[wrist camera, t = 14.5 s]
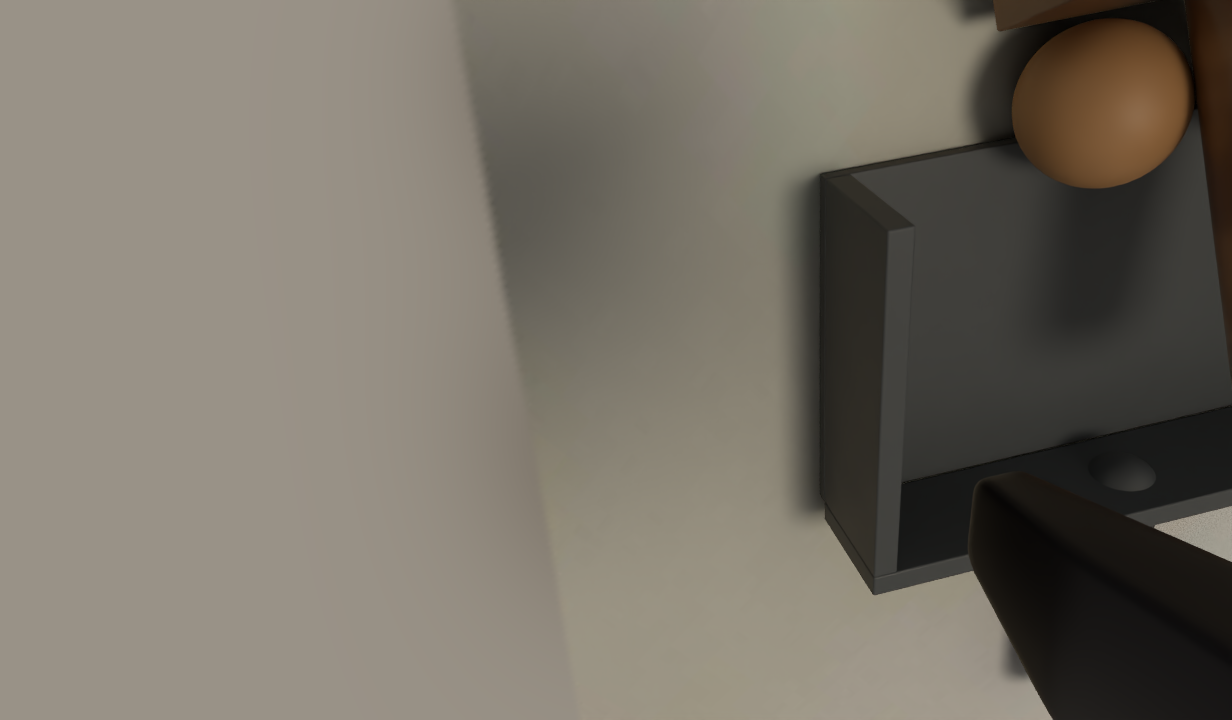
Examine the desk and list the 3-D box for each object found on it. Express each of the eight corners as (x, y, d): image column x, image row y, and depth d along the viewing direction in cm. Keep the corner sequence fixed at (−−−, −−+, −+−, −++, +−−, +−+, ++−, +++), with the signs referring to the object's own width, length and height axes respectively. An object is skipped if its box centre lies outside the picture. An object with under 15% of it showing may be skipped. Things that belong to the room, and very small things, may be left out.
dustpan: (819, 174, 22) (887, 231, 19) (1418, 61, 24) (1559, 98, 21) (819, 732, 32) (863, 824, 29) (1245, 617, 34) (1326, 693, 31)
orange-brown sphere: (1007, 36, 19) (991, 204, 21) (1208, 37, 18) (1176, 218, 19) (1033, 4, 22) (1017, 156, 24) (1211, 2, 20) (1181, 165, 22)
